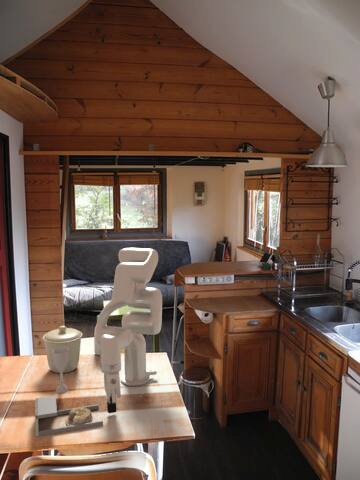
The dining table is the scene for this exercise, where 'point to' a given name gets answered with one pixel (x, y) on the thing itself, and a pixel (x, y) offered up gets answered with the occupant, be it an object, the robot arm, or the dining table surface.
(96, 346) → the milk bottle
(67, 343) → the canister
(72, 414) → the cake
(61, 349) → the chalice
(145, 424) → the dining table surface
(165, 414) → the dining table surface
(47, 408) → the low barrier
